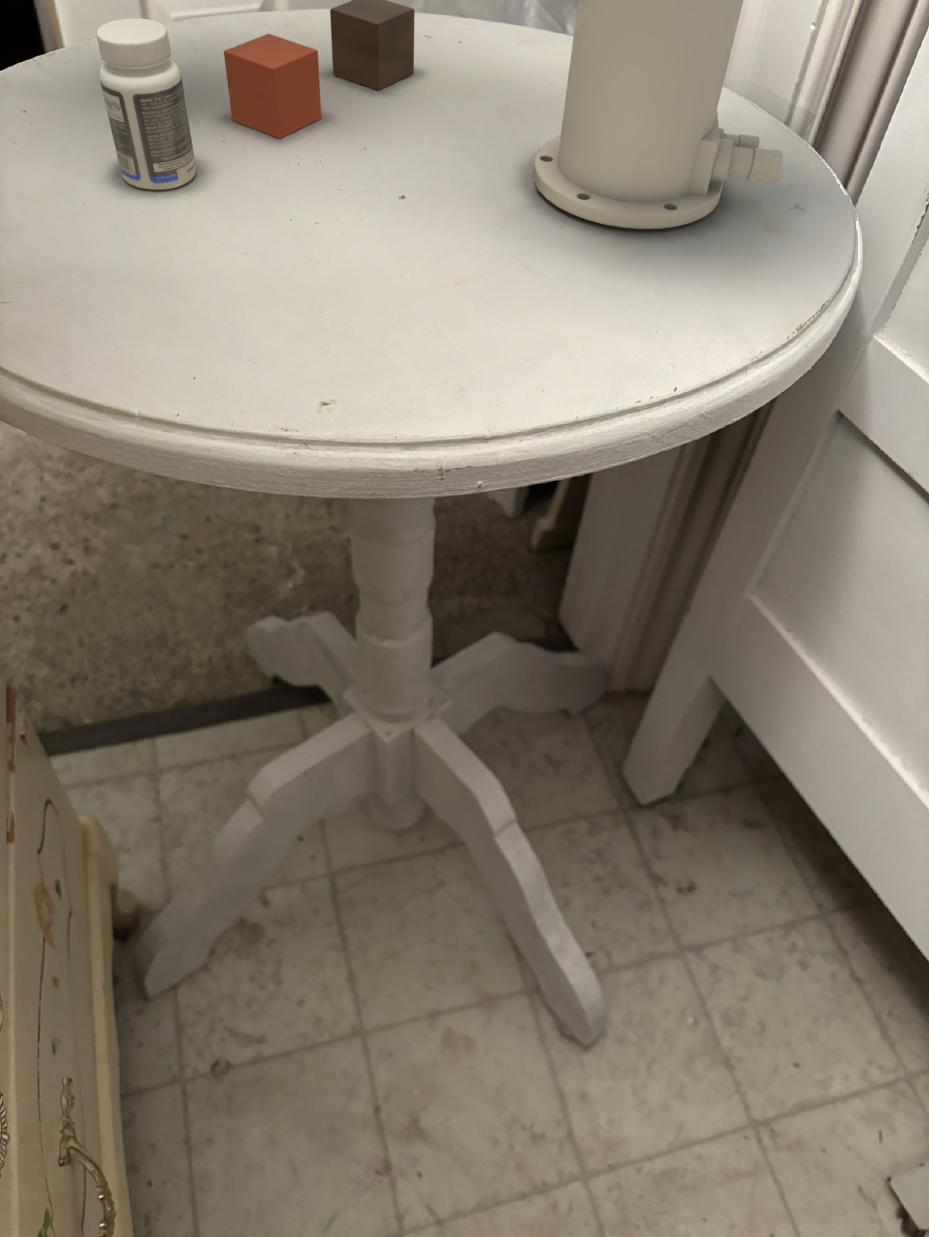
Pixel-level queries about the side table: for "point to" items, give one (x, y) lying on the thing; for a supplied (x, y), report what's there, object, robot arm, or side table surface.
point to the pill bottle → (145, 104)
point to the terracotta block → (273, 85)
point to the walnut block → (372, 42)
